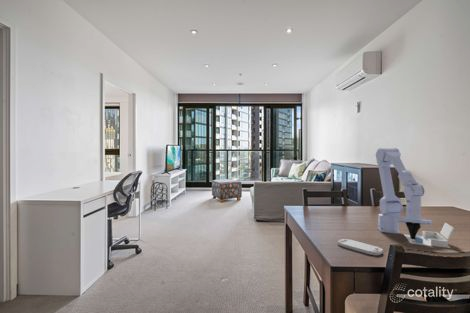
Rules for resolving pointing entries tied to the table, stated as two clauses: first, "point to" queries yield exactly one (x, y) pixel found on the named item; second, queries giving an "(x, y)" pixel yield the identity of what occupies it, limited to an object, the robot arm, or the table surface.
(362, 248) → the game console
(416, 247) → the table surface
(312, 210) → the table surface
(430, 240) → the white storage tray
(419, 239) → the pale blue rectangular prism
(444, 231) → the cover
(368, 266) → the table surface
